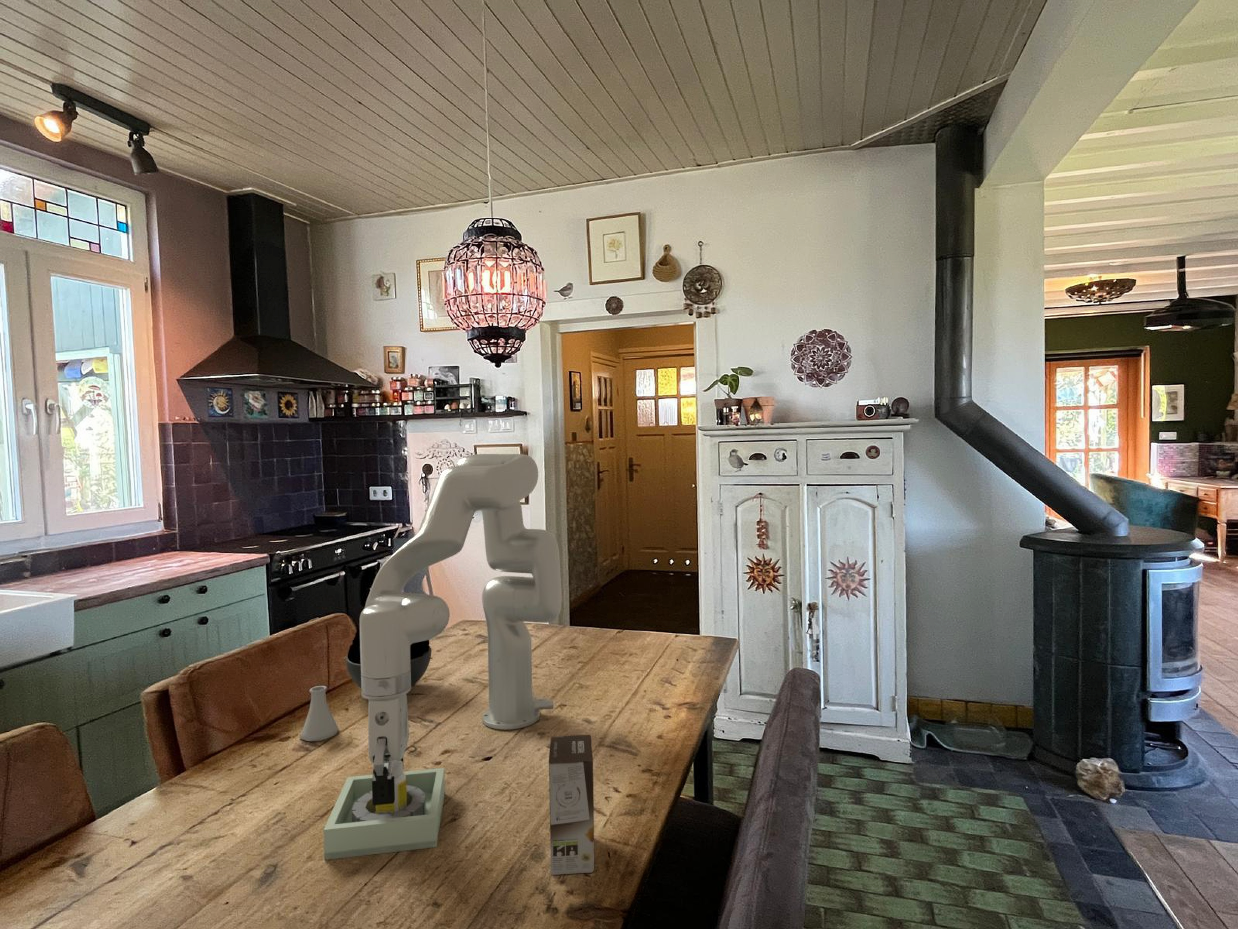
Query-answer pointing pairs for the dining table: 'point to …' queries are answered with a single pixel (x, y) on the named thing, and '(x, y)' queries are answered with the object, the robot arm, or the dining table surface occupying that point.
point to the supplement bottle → (396, 791)
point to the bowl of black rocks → (418, 659)
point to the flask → (319, 717)
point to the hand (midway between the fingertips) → (388, 787)
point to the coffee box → (571, 804)
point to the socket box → (385, 817)
